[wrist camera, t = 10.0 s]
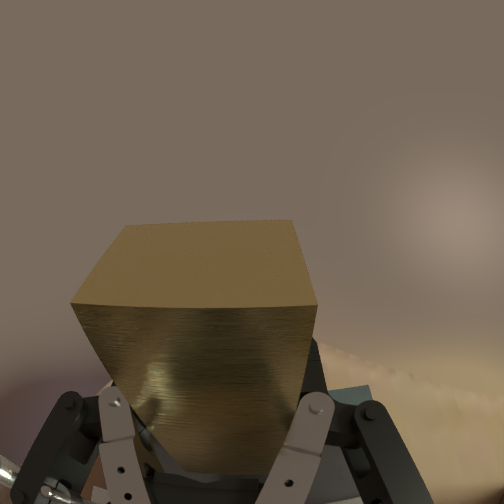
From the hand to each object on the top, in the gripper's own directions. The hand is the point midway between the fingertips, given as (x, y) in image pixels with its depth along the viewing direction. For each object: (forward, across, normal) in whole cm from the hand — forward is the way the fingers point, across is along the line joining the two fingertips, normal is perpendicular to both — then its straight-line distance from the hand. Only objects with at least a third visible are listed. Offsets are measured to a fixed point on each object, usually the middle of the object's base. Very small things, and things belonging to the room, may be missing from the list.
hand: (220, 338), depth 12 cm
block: (-3, 0, +8) cm, 8 cm away
